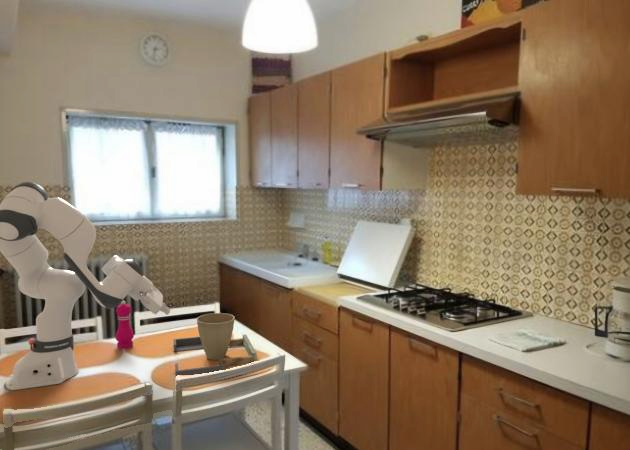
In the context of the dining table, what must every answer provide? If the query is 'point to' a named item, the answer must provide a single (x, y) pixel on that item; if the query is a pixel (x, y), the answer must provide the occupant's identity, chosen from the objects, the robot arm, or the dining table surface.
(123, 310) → the pepper mill
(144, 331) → the dining table surface
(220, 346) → the plant pot
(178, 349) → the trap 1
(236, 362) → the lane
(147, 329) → the dining table surface
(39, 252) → the robot arm
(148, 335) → the dining table surface
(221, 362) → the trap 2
